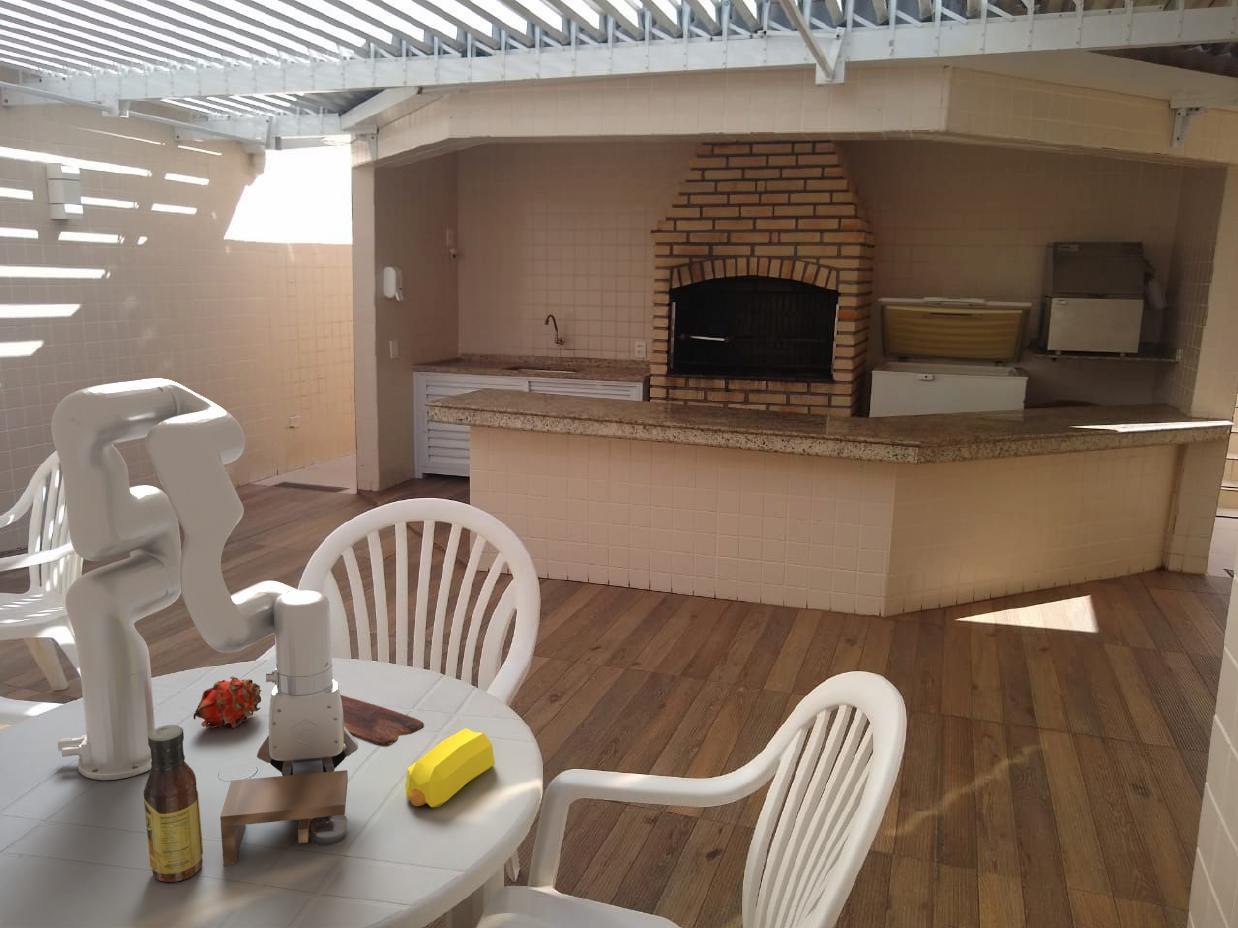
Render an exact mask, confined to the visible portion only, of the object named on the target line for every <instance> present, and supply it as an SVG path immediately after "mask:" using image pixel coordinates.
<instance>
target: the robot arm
mask: <svg viewBox="0 0 1238 928" xmlns="http://www.w3.org/2000/svg"><path fill="white" fill-rule="evenodd" d="M50 426H51V429H50V430H51V436H52V441H53V445H54V447H55V451H56V454H57V457H58V460H59V464H60V467H61V471H62V477H63V491H64V498H65V506H66V513H67V514H66V516H67V523H68V528H69V529H68V530H69V531H68V532H69V537H70V538H69V539H70V542H71V544H72V545H71V546H72V548H73V550H74V552H75V553H76V554H77V556H79V557H80V558H82V559H83V560H86V561H90V562H98V561H101V562H102V561H105V560H110V559H112V558H116V557H117V558H118V557H119V556H123V555H126V554H129V557H126V558H124V559H121V560H119V561H114V562H111V563H109V564H106V565H104V566H100V567H98V568H94V569H92V570H90V571H87V572H86V573H84V574H82V575H80V576H79V577H78V578H77V579H76V580H74V581H73V582H72V584H71V585H70V586H69V588H68V589H67V591H66V594H65V601H64V602H65V609H66V613H67V616H68V619H69V621H70V626H71V627H72V631H73V634H74V639H75V642H76V647H77V649H76V650H77V655H78V663H79V673H80V681H81V692H82V701H83V703H82V704H83V711H84V720H85V721H84V723H85V732H86V734H82V735H81V736H80V737H64V738H63V737H62V738H60V739H58V743H57V750H58V751H59V752H61V756H62V757H73V756H78V757H79V758H78V760H77V769H78V773H80V774H81V775H82V776H84V777H85V778H89V779H92V780H97V781H113V780H121V779H127V778H132V777H135V776H138V775H141V774H144V773H146V772H148V771H150V770H151V766H152V765H151V761H152V759H151V749H150V747H149V745H148V735H149V733H150V732H151V731H152V730H154V729H156V720H155V707H154V697H153V696H154V695H153V684H152V683H153V682H152V681H153V680H152V671H151V670H152V669H151V658H150V651H149V646H148V644H147V642H146V641H145V639H144V638H143V636H142V635H141V634H140V633H139V632H138V631H137V628H136V626H135V623H136V622H138V621H140V620H142V619H143V618H145V617H149V616H150V615H153V614H155V613H157V612H159V611H161V610H164V609H166V608H167V607H169V606H171V605H172V604H174V603H175V602H176V601H177V600H178V599H179V597H180V596H182V599H183V601H184V604H185V606H186V608H187V611H188V613H189V615H190V617H191V618H192V619H191V620H192V621H193V623H194V626H195V628H196V629H197V631H198V632H199V634H200V636H201V637H202V639H203V640H204V641H205V642H206V644H207V645H209V647H211V648H212V650H215V651H216V652H219V653H223V654H233V653H238V652H240V651H243V650H244V649H247V648H248V647H250V646H253V645H254V644H256V643H257V642H259V641H261V640H264V639H266V638H267V637H270V636H273V635H274V646H275V665H276V668H275V669H274V670H272V671H271V672H266V674H265V683H271V684H273V683H274V685H275V686H274V687H273V689H272V691H271V694H270V700H269V709H268V711H269V713H268V735H267V737H266V738H265V740H264V741H263V743H262V744H261V746H260V747H259V749H258V751H257V754H256V757H257V759H259V760H260V761H263V762H264V763H267V764H270V765H271V766H272V767H273V768H275V769H276V770H277V771H279V772H280V773H281V776H288V775H293V760H301V759H313V758H323V761H324V770H323V772H333V771H336V770H335V769H336V768H337V767H338V766H340V764H341V763H342V762H343V761H344V760H345V759H346V758H347V757H349V756H350V755H352V754H353V753H355V752H357V750H358V749H359V742H358V741H357V740H356V738H355V737H354V736H353V734H351V733H350V732H349V731H348V730H347V729H346V728H345V726H344V716H343V708H342V701H341V696H340V695H341V692H340V688H339V685H338V682H337V681H336V680H335V679H334V676H333V675H334V674H333V654H332V653H333V649H332V648H333V646H332V628H331V627H332V626H331V625H332V624H331V623H332V622H331V605H330V600H329V598H328V597H327V596H326V594H324V593H322V592H321V591H317V590H310V589H307V590H305V589H304V590H303V589H302V590H301V589H299V588H298V589H297V588H295V587H293V586H290V585H288V584H285V583H283V582H280V581H277V580H270V579H269V580H268V579H267V580H263V581H260V582H257V583H254V584H253V585H250V586H249V587H247V588H243V589H241V590H239V591H237V592H234V593H232V594H231V593H230V592H229V590H228V588H227V585H226V583H225V580H224V579H225V578H224V575H223V573H222V556H223V554H222V553H223V550H224V547H225V544H226V542H227V540H228V538H229V537H230V536H231V533H232V532H233V531H234V529H235V527H236V526H237V525H238V524H239V522H240V521H241V520H242V518H243V516H244V514H245V509H244V505H243V503H242V501H241V499H240V497H239V495H238V493H237V491H236V488H235V486H234V483H233V482H232V479H231V478H230V475H229V474H228V471H227V469H226V466H225V465H228V464H231V463H233V462H235V461H237V460H238V459H239V458H240V457H241V456H242V454H243V453H244V450H245V446H246V438H245V437H246V436H245V433H244V431H243V428H242V426H241V424H240V423H239V422H238V420H237V419H236V418H235V417H234V416H233V415H232V414H231V413H230V412H229V411H228V410H226V409H224V408H223V407H221V406H220V405H218V404H217V403H215V402H214V401H211V400H209V399H207V398H206V397H204V396H202V395H201V394H199V393H196V392H194V391H193V390H191V389H189V388H187V387H186V386H183V385H182V384H180V383H178V382H175V381H173V380H171V379H165V378H161V377H160V378H159V377H158V378H157V377H155V378H153V377H152V378H143V379H138V380H131V381H120V382H119V381H118V382H111V383H105V384H99V385H94V386H89V387H85V388H81V389H79V390H76V391H74V392H72V393H70V394H68V395H67V396H65V397H64V398H63V399H62V400H61V401H60V402H58V404H57V406H56V407H55V409H54V411H53V414H52V419H51V423H50ZM143 438H146V439H145V451H146V453H147V455H148V458H149V461H150V462H151V464H152V466H153V469H154V471H155V473H156V475H157V477H158V479H159V482H160V484H161V486H162V488H163V490H164V491H163V490H162V489H160V488H158V487H155V486H152V485H149V484H148V485H146V484H145V485H141V484H140V485H136V486H130V479H129V477H130V476H129V469H128V466H127V463H126V461H125V459H124V457H123V456H122V454H121V452H120V451H119V450H118V448H117V447H115V446H114V444H117V443H122V442H123V443H124V442H127V441H133V440H134V441H135V440H139V439H143ZM180 525H181V528H182V531H183V535H184V541H183V544H181V543H182V542H181V537H180V536H181V533H180ZM182 545H183V546H182Z"/></svg>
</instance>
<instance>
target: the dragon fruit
mask: <svg viewBox="0 0 1238 928" xmlns="http://www.w3.org/2000/svg"><path fill="white" fill-rule="evenodd" d="M229 679H231V680H229V681H228V680H226V679H222V680H219V681H216V682H215V683H214V684H213V685H212V687H211V688H208V689H205V690H204V691H203V693H202V695H201V698H200V702H199V703H198V705H197V707H196V709H195V713H193V720H194V721H195V720H196V717H197V718H198V719H203V720H204V721H202V722H201V723H200V724H201V727H203V728H211V729H212V728H219V727H222V726H226V725H227V724H231V728H232V729H235V728H236V727H237V726H239V725H240V724H241V723H242V722H245V721H246V720H247V719H248V718H249V717H251V716H253V715H254V713H255V712H258V711H259V710H260V709H261V707H260V706H259V707H258V705H259V704H260V703H261V702H262V697H261V692H262V689H261V685H259V684H258V683H254V682H253V680H252V679H250V678H249V679H243V678H242V679H241V680H240V679H239V678H238V677H236V676H235V677H234V676H230V677H229Z"/></svg>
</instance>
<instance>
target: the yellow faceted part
mask: <svg viewBox="0 0 1238 928" xmlns="http://www.w3.org/2000/svg"><path fill="white" fill-rule="evenodd" d="M495 765H496V762H495V755H494V749H493V744H492V742H491V740H490V738H489V737H488V736H487V735H486V734H485V733H484V732H479V731H478V732H476V731H473V730H471V729H469V728H467V727H465V728H463V729H461V730H459V731H457V732H456V733H454V734H452V735H451V736H448V737H447V738H445V739H443V740H442V741H440V742H439V743H438V744H436V745H435V746H433V748H432V749H430V750H428V752H427V753H425V754H424V755H422V756H421V757H420V758H419V759H417V761H415V762H414V763H412V764H411V765H410V766H408V768H407V773H406V780H405V798H406V799H407V800H409V801H410V803H411V804H412V805H413V806H415V807H421V806H425V804H428V806H429V807H430V808H439V807H441V806H442V805H443V804H445V803H446V802H447V801H448V800H450V799H451V798H452V797H453V796H454V795H455V794H456V793H458V791H460V790H461V789H462V788H463V787H464V786H465V785H466V784H468V783H469V782H471V781H473V780H474V779H476V778H477V777H479V776H481V775H482V774H483V773H484V772H486V771H487V770H489V769H491V767H493V766H495Z"/></svg>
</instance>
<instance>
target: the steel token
mask: <svg viewBox="0 0 1238 928" xmlns="http://www.w3.org/2000/svg"><path fill="white" fill-rule="evenodd" d="M347 835H348V818H347V816H346V814H345V815H337V816H327V817H317V818H312V819H311V821H310V823H309V840H310V842H311V843H312V842H313V844H314V843H315V844H314V845H316V844H317V845H318V846H322V847H323V846H324V847H325V846H332V845H336V844H338V843H340V842H342V841H343V840H344V839H345V838H346V837H347Z"/></svg>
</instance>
